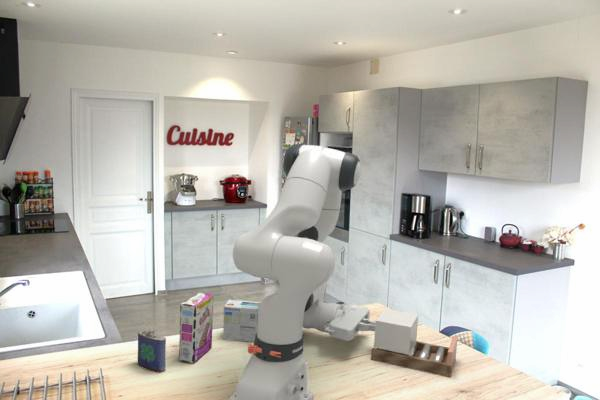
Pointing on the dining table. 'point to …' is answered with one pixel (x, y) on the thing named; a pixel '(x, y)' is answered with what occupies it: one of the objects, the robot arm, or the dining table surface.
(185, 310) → the candy bar box
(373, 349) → the roller track
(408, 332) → the off-white cardboard box
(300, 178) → the robot arm
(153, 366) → the flask
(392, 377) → the dining table surface
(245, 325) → the light bulb box
